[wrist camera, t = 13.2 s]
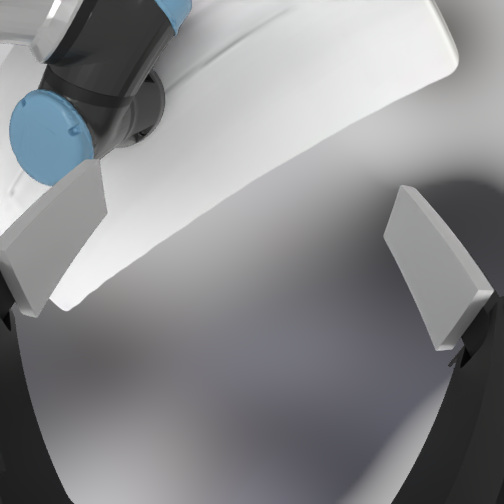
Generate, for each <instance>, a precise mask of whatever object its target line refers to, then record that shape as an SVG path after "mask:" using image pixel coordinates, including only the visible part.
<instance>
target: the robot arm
mask: <svg viewBox="0 0 504 504" xmlns="http://www.w3.org/2000/svg"><path fill="white" fill-rule="evenodd" d="M191 8H192V1H191V0H0V43H5V44H16V45H25V46H28V47H29V48H30V50H31V52H32V54H33V56H34V57H35V59H36V61H37V62H39V63H45V64H48V65H47V67H46V69H45V72H44V74H43V77H42V79H41V82H40V85H39V87H38V89H37V90H34V91H31V92H30V93H28V94H27V95H26V96H25V97H24V98H23V99H22V100H20V101H19V103H18V104H17V105H16V107H15V109H14V111H13V113H12V116H11V120H10V126H9V136H10V142H11V146H12V150H13V152H14V153H15V155H16V158H17V161H18V163H19V164H20V166H21V167H22V168H23V170H24V171H25V172H26V173H27V174H28V175H29V176H30V177H32V178H33V179H35V180H36V181H38V182H40V183H42V184H45V185H48V186H52V187H51V188H50V189H49V190H48V191H47V192H46V193H45V194H43V195H42V196H41V197H40V198H39V199H38V200H37V201H36V202H35V203H34V204H33V205H32V206H30V207H29V208H28V209H27V210H26V211H25V212H24V213H23V214H22V215H21V216H20V217H19V218H18V219H17V220H16V221H15V222H14V223H13V224H12V225H11V226H10V227H9V228H8V229H7V230H6V231H5V232H4V234H2V236H1V237H0V504H74V503H73V502H72V501H71V500H70V499H69V498H68V495H67V494H66V492H65V490H64V488H63V486H62V484H61V481H60V479H59V477H58V475H57V473H56V470H55V468H54V466H53V463H52V461H51V459H50V456H49V453H48V451H47V449H46V445H45V443H44V440H43V438H42V434H41V431H40V428H39V425H38V422H37V419H36V416H35V413H34V410H33V406H32V403H31V399H30V395H29V391H28V388H27V384H26V379H25V375H24V371H23V366H22V361H21V356H20V350H19V345H18V338H17V332H16V324H15V317H14V314H13V312H12V310H11V307H12V305H13V304H14V302H16V304H17V306H18V308H19V310H20V311H21V313H22V314H24V315H28V316H32V317H36V318H37V317H38V316H39V314H40V312H41V310H42V309H43V307H44V305H45V304H46V302H47V300H48V299H49V297H50V295H51V294H52V292H53V291H54V289H55V287H56V286H57V284H58V283H59V281H60V279H61V278H62V276H63V275H64V273H65V272H66V270H67V269H68V267H69V266H70V264H71V263H72V261H73V260H74V258H75V257H76V255H77V254H78V253H79V251H80V250H81V248H82V247H83V246H84V244H85V243H86V241H87V240H88V239H89V237H90V236H91V234H92V233H93V232H94V230H95V229H96V228H97V226H98V225H99V224H100V222H101V221H102V220H103V218H104V217H105V216H106V215H107V208H106V202H105V196H104V190H103V183H102V176H101V168H100V159H102V158H103V157H104V156H105V155H106V154H108V153H109V152H110V151H111V150H113V149H114V148H122V147H128V146H131V145H134V144H136V143H138V142H140V141H141V140H143V139H144V138H145V137H147V136H148V135H149V134H150V133H151V132H152V131H153V130H154V129H155V128H156V126H157V125H158V123H159V121H160V119H161V117H162V114H163V111H164V106H165V94H164V89H163V86H162V83H161V81H160V79H159V77H158V76H157V74H156V73H155V72H154V71H153V70H152V69H151V68H152V67H153V65H154V64H155V62H156V61H157V59H158V57H159V56H160V54H161V53H162V51H163V50H164V48H165V47H166V45H167V44H168V42H169V41H170V40H171V38H172V37H173V36H176V35H177V33H178V29H179V27H180V26H181V24H182V23H183V21H184V20H185V18H186V17H187V15H188V14H189V13H190V11H191ZM384 239H385V241H386V243H387V245H388V246H389V249H390V250H391V252H392V254H393V256H394V258H395V260H396V262H397V264H398V266H399V268H400V270H401V272H402V274H403V276H404V278H405V281H406V283H407V285H408V286H409V289H410V291H411V293H412V295H413V297H414V300H415V302H416V304H417V306H418V309H419V311H420V313H421V316H422V318H423V320H424V323H425V325H426V328H427V330H428V332H429V335H430V337H431V340H432V342H433V345H434V347H435V350H436V351H439V350H450V349H452V348H453V347H454V346H455V345H456V343H457V342H458V341H459V340H460V338H462V340H463V342H464V346H463V347H462V349H461V350H460V351H459V352H458V354H457V355H456V356H455V357H454V358H453V359H452V361H451V362H450V363H449V365H448V366H449V367H451V366H452V365H453V363H456V364H455V368H454V371H453V374H452V377H451V380H450V383H449V386H448V388H447V391H446V394H445V397H444V399H443V402H442V404H441V407H440V409H439V412H438V414H437V417H436V419H435V422H434V424H433V426H432V428H431V431H430V433H429V435H428V438H427V439H426V442H425V444H424V446H423V448H422V450H421V452H420V454H419V456H418V458H417V460H416V462H415V464H414V465H413V467H412V469H411V471H410V473H409V475H408V476H407V478H406V480H405V482H404V483H403V485H402V487H401V489H400V490H399V492H398V494H397V495H396V497H395V498H394V500H393V502H392V503H391V504H504V296H502V297H499V295H498V294H497V292H496V290H495V289H494V287H493V286H492V284H491V283H490V281H489V280H488V278H487V277H486V275H485V274H483V271H482V269H481V268H480V267H479V266H478V264H477V262H476V261H475V259H474V258H473V257H472V255H471V254H469V253H468V252H467V250H466V249H465V248H464V246H463V245H462V244H461V243H460V241H459V240H458V239H457V238H456V236H455V235H454V233H453V232H452V231H451V230H450V229H449V227H448V226H447V225H446V224H445V222H444V221H443V220H442V219H441V217H440V216H439V215H438V214H437V213H436V211H435V210H434V209H433V208H432V207H431V206H430V204H429V203H428V202H427V201H426V200H425V199H424V198H423V197H422V195H421V194H420V193H419V192H418V191H417V190H416V189H415V188H413V187H409V186H404V185H400V188H399V191H398V195H397V198H396V201H395V204H394V207H393V210H392V213H391V216H390V219H389V222H388V225H387V228H386V230H385V233H384Z"/></svg>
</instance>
